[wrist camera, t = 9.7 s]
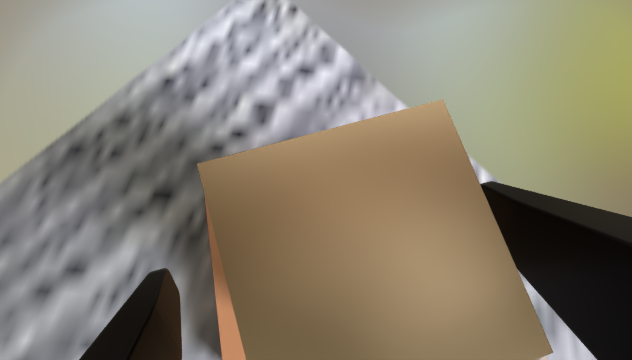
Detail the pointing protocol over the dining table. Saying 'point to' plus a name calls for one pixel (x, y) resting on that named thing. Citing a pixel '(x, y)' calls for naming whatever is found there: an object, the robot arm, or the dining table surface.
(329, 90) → the dining table surface
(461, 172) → the birch block
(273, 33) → the dining table surface
